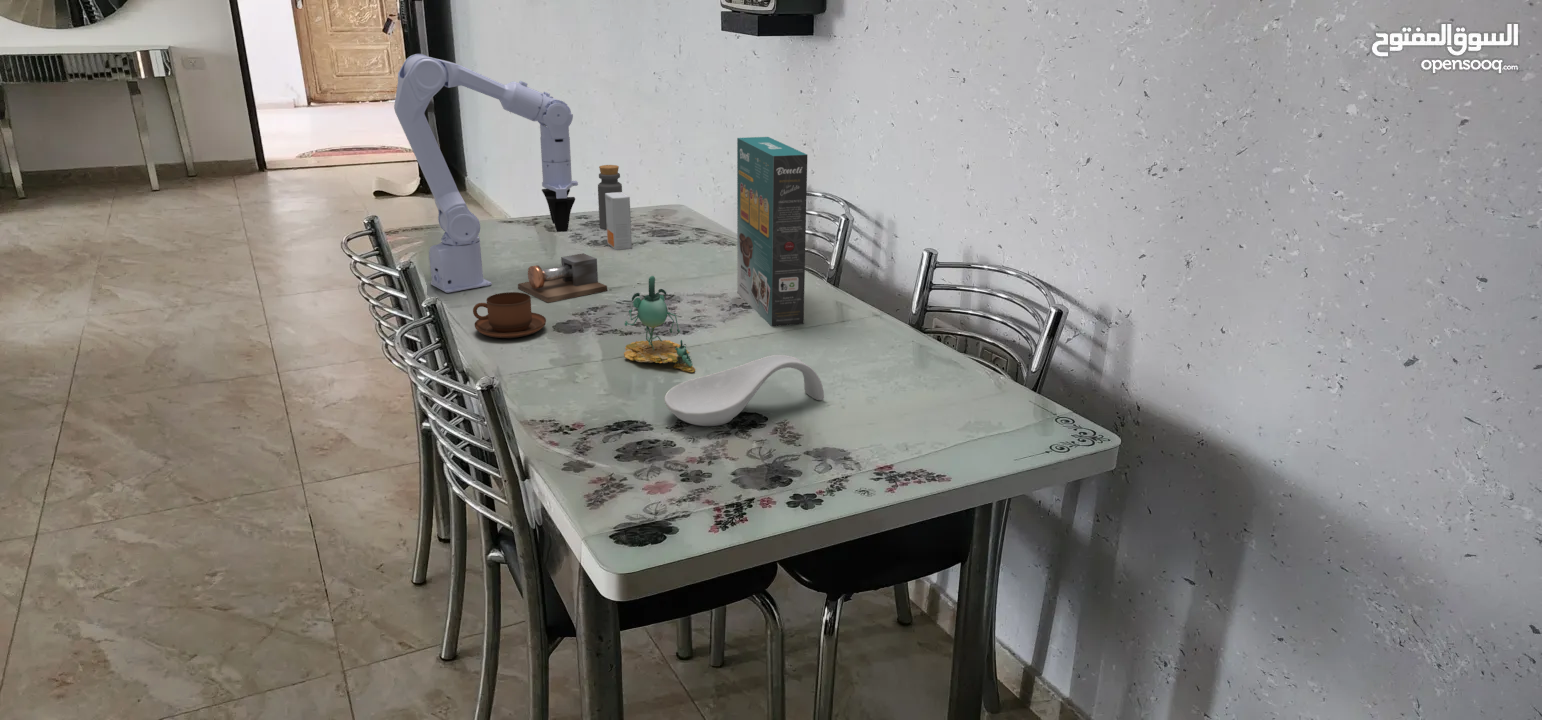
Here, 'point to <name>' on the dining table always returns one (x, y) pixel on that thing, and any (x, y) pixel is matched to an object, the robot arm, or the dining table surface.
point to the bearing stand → (570, 281)
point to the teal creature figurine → (653, 315)
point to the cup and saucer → (508, 316)
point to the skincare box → (618, 220)
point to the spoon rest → (732, 390)
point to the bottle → (607, 189)
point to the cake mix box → (771, 229)
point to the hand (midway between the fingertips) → (559, 227)
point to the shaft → (547, 274)
